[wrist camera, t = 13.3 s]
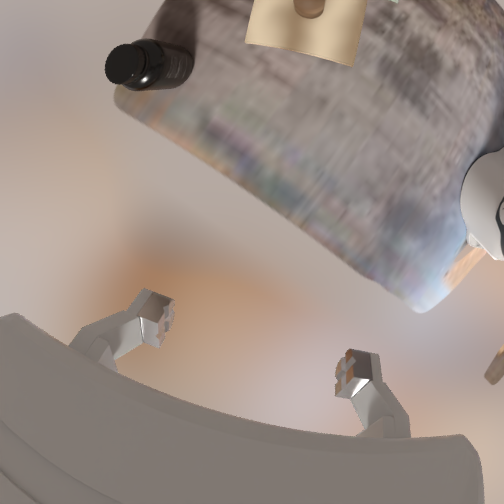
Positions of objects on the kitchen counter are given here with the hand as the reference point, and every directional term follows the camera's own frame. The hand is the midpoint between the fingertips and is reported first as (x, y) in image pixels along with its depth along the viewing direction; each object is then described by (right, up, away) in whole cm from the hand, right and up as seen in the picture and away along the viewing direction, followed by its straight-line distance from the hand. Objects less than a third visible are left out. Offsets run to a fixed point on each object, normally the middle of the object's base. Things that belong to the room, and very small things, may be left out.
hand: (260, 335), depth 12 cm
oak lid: (+6, +30, +9) cm, 32 cm away
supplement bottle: (-11, +29, +19) cm, 37 cm away
